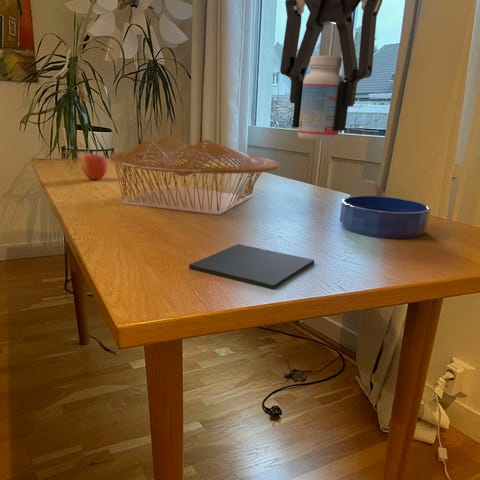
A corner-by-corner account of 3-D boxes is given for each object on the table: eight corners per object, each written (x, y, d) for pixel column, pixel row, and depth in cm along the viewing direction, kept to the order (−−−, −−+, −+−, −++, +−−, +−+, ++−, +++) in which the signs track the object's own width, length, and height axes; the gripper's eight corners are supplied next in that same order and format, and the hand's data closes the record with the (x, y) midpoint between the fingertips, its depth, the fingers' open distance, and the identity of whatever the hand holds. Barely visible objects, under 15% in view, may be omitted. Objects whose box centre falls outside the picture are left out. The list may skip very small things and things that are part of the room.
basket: (251, 226, 95) (254, 153, 89) (80, 204, 106) (73, 138, 100) (291, 196, 126) (296, 141, 120) (156, 182, 137) (155, 131, 131)
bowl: (432, 227, 101) (437, 203, 99) (414, 244, 87) (420, 217, 85) (354, 214, 109) (357, 192, 107) (327, 229, 95) (330, 204, 93)
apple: (76, 178, 137) (74, 149, 133) (98, 176, 142) (96, 148, 139) (91, 182, 133) (89, 152, 129) (113, 180, 138) (111, 150, 134)
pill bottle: (332, 142, 70) (343, 55, 66) (293, 138, 72) (300, 54, 67) (340, 139, 75) (350, 59, 71) (303, 137, 77) (310, 58, 73)
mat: (314, 263, 75) (314, 259, 74) (273, 289, 64) (273, 285, 63) (237, 247, 81) (238, 243, 81) (188, 268, 70) (188, 264, 70)
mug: (393, 210, 117) (397, 176, 109) (366, 231, 114) (368, 197, 106) (369, 197, 121) (372, 164, 113) (343, 217, 118) (343, 184, 110)
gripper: (262, -58, 65) (252, 124, 75) (403, -75, 56) (371, 134, 66) (287, -44, 71) (274, 124, 80) (418, -57, 62) (386, 132, 72)
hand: (318, 128), depth 73 cm, fingers closed on pill bottle, 6 cm apart
